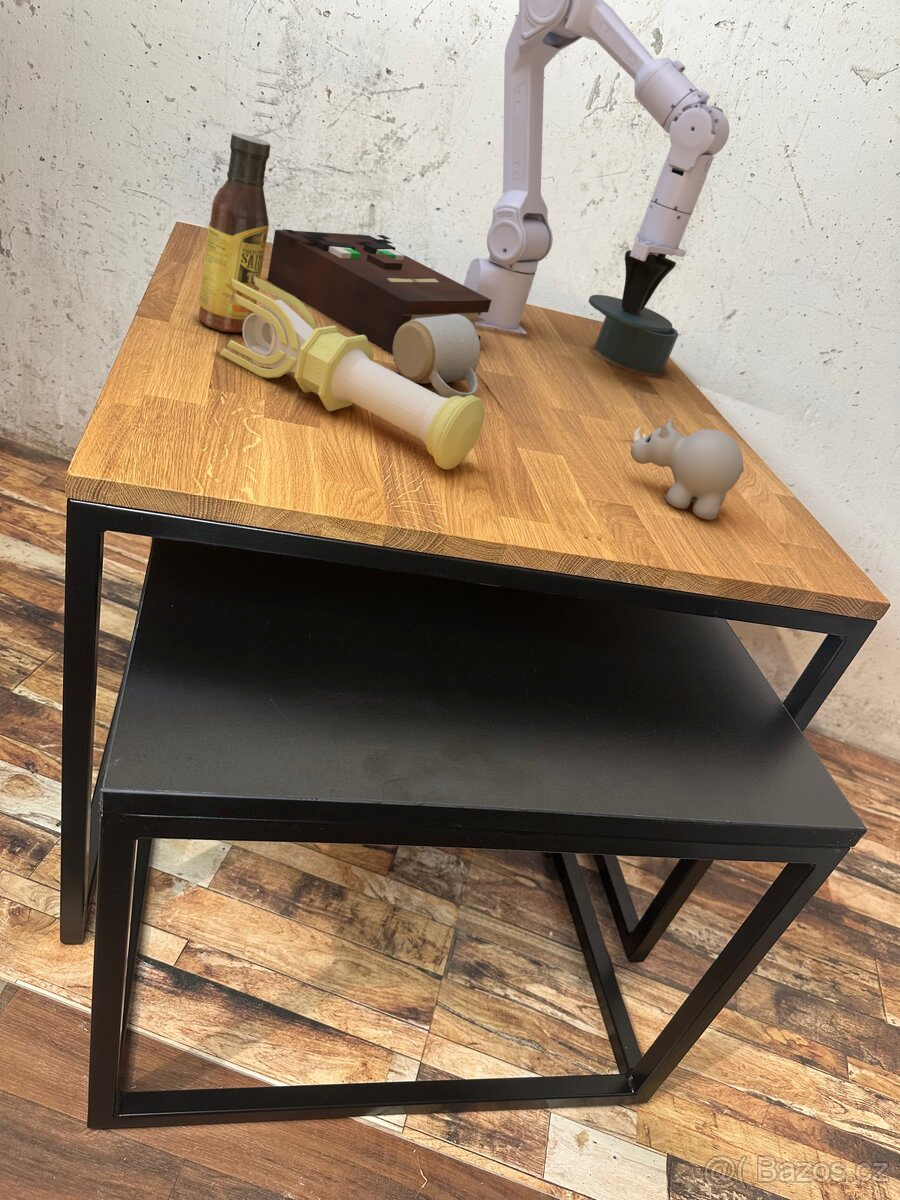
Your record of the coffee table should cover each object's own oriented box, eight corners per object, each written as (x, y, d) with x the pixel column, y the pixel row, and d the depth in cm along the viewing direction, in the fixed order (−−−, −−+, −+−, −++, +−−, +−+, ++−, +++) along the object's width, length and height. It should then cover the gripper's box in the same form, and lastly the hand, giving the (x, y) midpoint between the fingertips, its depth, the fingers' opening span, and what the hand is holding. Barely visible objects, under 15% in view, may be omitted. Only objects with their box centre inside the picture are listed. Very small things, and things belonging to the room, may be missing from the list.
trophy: (502, 392, 83) (267, 274, 92) (463, 406, 77) (216, 278, 86) (477, 467, 87) (254, 348, 96) (438, 486, 81) (205, 357, 91)
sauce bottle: (239, 340, 97) (267, 149, 87) (187, 322, 98) (208, 129, 87) (261, 327, 103) (289, 146, 92) (211, 310, 103) (234, 127, 93)
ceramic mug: (381, 367, 103) (397, 304, 98) (429, 364, 108) (446, 304, 104) (441, 408, 98) (461, 343, 93) (488, 403, 103) (509, 341, 99)
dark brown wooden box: (414, 302, 102) (257, 216, 115) (399, 363, 106) (249, 273, 119) (512, 300, 116) (362, 224, 129) (495, 354, 120) (351, 275, 133)
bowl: (611, 369, 130) (628, 327, 126) (582, 342, 138) (597, 302, 135) (673, 381, 134) (691, 341, 131) (641, 353, 142) (657, 315, 139)
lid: (608, 326, 115) (621, 291, 112) (573, 296, 124) (585, 263, 122) (684, 342, 119) (698, 309, 117) (645, 312, 129) (658, 281, 126)
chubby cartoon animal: (627, 464, 99) (656, 394, 94) (725, 509, 96) (761, 439, 91) (608, 481, 93) (638, 408, 89) (712, 529, 90) (749, 456, 85)
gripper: (685, 218, 107) (642, 325, 114) (711, 216, 118) (671, 313, 126) (633, 199, 109) (595, 305, 116) (664, 199, 120) (627, 295, 128)
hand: (631, 308), depth 121 cm, fingers closed on lid, 2 cm apart
